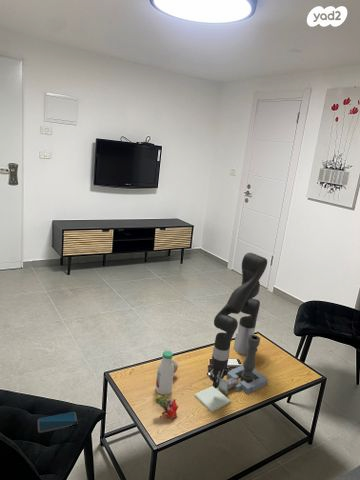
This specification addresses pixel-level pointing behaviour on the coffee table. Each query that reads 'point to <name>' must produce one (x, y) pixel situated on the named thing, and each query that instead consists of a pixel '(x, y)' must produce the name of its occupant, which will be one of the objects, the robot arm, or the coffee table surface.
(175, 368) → the decorative fruit
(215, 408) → the board
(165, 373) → the milk bottle
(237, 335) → the robot arm
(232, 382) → the grey t-shaped block
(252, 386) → the socket block
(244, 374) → the candle holder
